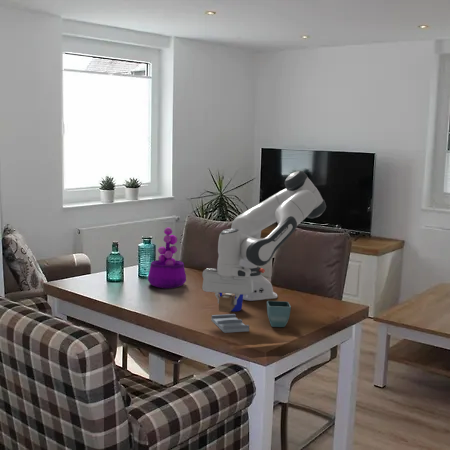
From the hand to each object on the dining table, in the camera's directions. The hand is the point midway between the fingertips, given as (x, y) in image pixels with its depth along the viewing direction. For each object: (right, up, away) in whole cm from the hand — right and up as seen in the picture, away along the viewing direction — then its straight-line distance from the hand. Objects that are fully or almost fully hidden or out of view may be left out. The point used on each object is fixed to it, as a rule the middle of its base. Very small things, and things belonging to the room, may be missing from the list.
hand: (227, 303), depth 248 cm
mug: (+1, -5, +22) cm, 23 cm away
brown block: (0, -2, 0) cm, 2 cm away
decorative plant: (-30, 0, +59) cm, 66 cm away
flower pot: (+20, -9, 0) cm, 22 cm away
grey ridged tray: (+1, -8, -3) cm, 9 cm away
